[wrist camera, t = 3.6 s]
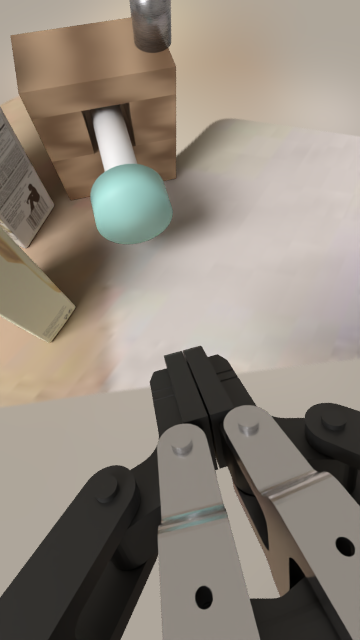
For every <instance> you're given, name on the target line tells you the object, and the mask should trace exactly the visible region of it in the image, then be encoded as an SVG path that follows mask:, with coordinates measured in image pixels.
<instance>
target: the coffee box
mask: <svg viewBox="0 0 360 640" xmlns="http://www.w3.org/2000/svg"><path fill="white" fill-rule="evenodd" d="M53 207H54V203H53V201H52V200H51V198H50V196H49V194H48V192H47V191H46V189H45V187H44V185H43V184H42V182H41V180H40V178H39V176H38V174H37V173H36V171H35V169H34V167H33V165H32V164H31V162H30V160H29V158H28V156H27V155H26V153H25V151H24V149H23V147H22V145H21V144H20V142H19V140H18V138H17V136H16V135H15V133H14V131H13V129H12V127H11V126H10V124H9V122H8V120H7V118H6V116H5V115H4V113H3V111H2V109H1V107H0V226H1V227H2V229H3V230H4V231H5V232H6V233H7V234H8V235H9V236H10V237H11V238H12V239H13V241H14V242H15V243H16V244H17V245H18V246H20V247H23V248H27V247H28V246H29V244H30V243H31V241H32V240H33V238H34V236H35V235H36V233H37V232H38V230H39V229H40V227H41V226H42V224H43V223H44V221H45V219H46V218H47V216H48V215H49V213H50V212H51V210H52V208H53Z"/></svg>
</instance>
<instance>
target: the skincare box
mask: <svg viewBox="0 0 360 640" xmlns="http://www.w3.org/2000/svg"><path fill="white" fill-rule="evenodd" d="M74 309H75V305H74V304H73V303H72V302H71V301H70V300H69V299H68V298H67V297H66V296H65V295H64V294H63V293H62V292H61V290H60V289H59V288H58V287H57V286H56V285H55V284H54V283H53V282H52V281H51V280H50V279H49V278H48V277H47V276H46V275H45V273H44V272H43V271H42V270H41V269H40V268H39V267H38V266H37V265H36V264H35V263H34V262H33V261H32V260H31V259H30V258H29V257H28V256H27V254H26V253H25V252H24V251H23V250H22V249H21V248H20V247H19V246H18V245H17V244H16V243H15V242H14V241H13V239H12V238H11V237H10V236H9V235H8V234H7V233H6V232H5V231H4V230H3V229H2V227H1V226H0V317H2V318H4V319H6V320H7V321H9V322H11V323H13V324H14V325H16V326H18V327H19V328H21V329H23V330H25V331H27V332H28V333H30V334H32V335H34V336H36V337H38V338H40V339H42V340H44V341H46V342H48V343H50V342H51V341H52V340H53V339H54V337H55V336H56V335H57V333H58V332H59V331H60V329H61V328H62V327H63V325H64V324H65V322H66V321H67V320H68V318H69V317H70V315H71V314H72V312H73V310H74Z"/></svg>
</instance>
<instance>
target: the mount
mask: <svg viewBox="0 0 360 640" xmlns="http://www.w3.org/2000/svg"><path fill="white" fill-rule="evenodd" d="M11 42H12V50H13V56H14V63H15V71H16V78H17V85H18V92H19V95H20V97H21V99H22V101H23V103H24V105H25V107H26V109H27V112H28V114H29V116H30V118H31V120H32V122H33V124H34V126H35V128H36V130H37V132H38V134H39V136H40V138H41V140H42V143H43V145H44V147H45V149H46V151H47V153H48V155H49V157H50V159H51V161H52V163H53V165H54V167H55V169H56V171H57V173H58V176H59V178H60V180H61V182H62V184H63V186H64V188H65V190H66V192H67V194H68V196H69V198H70V200H75V199H79V198H84V197H89V196H90V193H91V188H92V186H93V184H94V182H95V181H96V179H97V178H98V177H99V176H100V175H101V174H102V173H104V172H105V171H104V166H103V162H102V158H101V154H100V150H99V146H98V142H97V138H96V134H95V130H94V126H93V122H92V118H91V114H90V109H95V108H101V107H107V106H112V105H118V104H120V107H121V110H122V114H123V117H124V121H125V124H126V127H127V131H128V134H129V137H130V141H131V144H132V147H133V151H134V154H135V158H136V161H137V164H140V165H144V166H147V167H150V168H152V169H153V170H155V171H156V172H157V173H158V174H159V175H160V176H161V178H162V180H163V181H166V180H171V179H175V178H176V66H175V63H174V61H173V58H172V56H171V53H170V51H169V49H168V48H167V49H166V50H164V51H161V52H158V53H148V52H144V51H141V50H140V49H138V48H137V47H136V46H135V43H134V36H133V27H132V18H124V19H118V20H111V21H104V22H98V23H91V24H84V25H77V26H71V27H64V28H57V29H51V30H44V31H37V32H31V33H24V34H17V35H11Z"/></svg>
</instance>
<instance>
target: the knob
mask: <svg viewBox="0 0 360 640" xmlns="http://www.w3.org/2000/svg"><path fill="white" fill-rule="evenodd" d="M90 114H91V118H92V122H93V126H94V130H95V134H96V138H97V142H98V146H99V150H100V154H101V158H102V162H103V166H104V171H105V172H104V173H102V174H101V175H100V176H99V177H98V178H97V179H96V181H95V182H94V184H93V186H92V188H91V193H90V198H91V203H92V208H93V212H94V217H95V222H96V226H97V229H98V231H99V233H100V234H101V235H102V236H103V237H104V238H106V239H107V240H109V241H112V242H115V243H119V244H136V243H141V242H145V241H147V240H150V239H152V238H154V237H156V236H157V235H159V234H160V233H162V232H163V231H164V230H165V229H166V228H167V226H168V225H169V223H170V222H171V219H172V214H173V211H172V207H171V204H170V201H169V197H168V194H167V191H166V188H165V185H164V182H163V180H162V178H161V176H160V175H159V174H158V173H157V172H156V171H155V170H153V169H152V168H150V167H147V166H144V165H140V164H137V161H136V158H135V154H134V151H133V147H132V144H131V141H130V137H129V134H128V131H127V127H126V124H125V121H124V117H123V114H122V110H121V107H120V104H118V105H112V106H107V107H101V108H95V109H90Z"/></svg>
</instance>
